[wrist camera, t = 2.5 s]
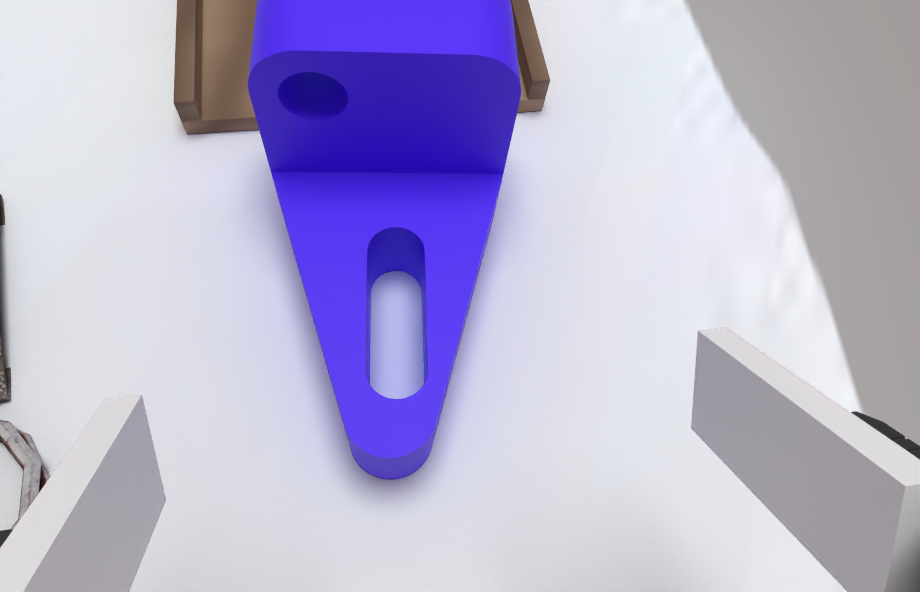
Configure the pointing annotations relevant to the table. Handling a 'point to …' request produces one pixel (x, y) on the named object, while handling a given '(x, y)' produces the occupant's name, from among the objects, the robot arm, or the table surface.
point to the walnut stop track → (229, 52)
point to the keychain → (20, 439)
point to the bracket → (386, 179)
